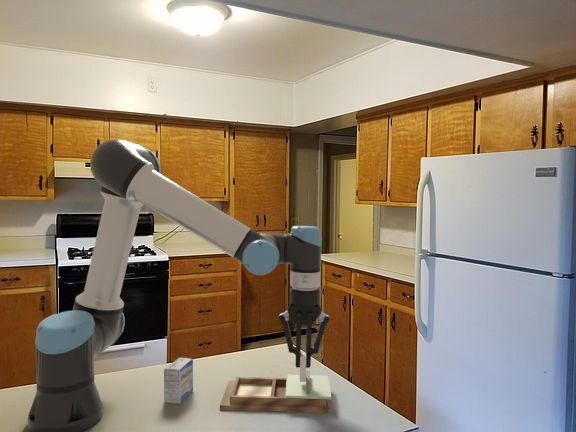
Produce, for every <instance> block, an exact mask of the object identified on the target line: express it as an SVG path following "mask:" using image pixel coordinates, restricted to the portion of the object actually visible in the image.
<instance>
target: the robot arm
mask: <svg viewBox="0 0 576 432" xmlns="http://www.w3.org/2000/svg"><path fill="white" fill-rule="evenodd" d="M160 164H161V163H160V160H159V159H158V157H157V155H155V153H154V152H153V151H151V150H150V149H149V148H147V147H146V146H143V145H141V144H136V143H133V142H130V141H127V140H122V139H110V140H106V141H105V142H104V141H103V142H102V143H100V144H99V145H98V146H97V147H96V148H95V149H94V150H93V152H92V153H91V157H90V164H89V165H90V172H91V175H92V176H93V178H94V180H95V181H96V182H97V183H98V184H99V185H100V186H101V187H100V191H99V192H100V194H101V195H102V197H103V198H104V203H103V207H102V212H101V216H100V220H99V224H98V225H99V226H98V229H97V234H96V238H95V242H94V246H93V250H92V255H91V260H90V264H89V268H88V272H87V277H86V281H85V282H86V283H85V286H84V289H83V290H84V291H83V292H82V293H81V292H80V294H78V295H77V296H76V297H75V299H74V300H75V301H74V303H73V307H72V310H66V311H61V312H59V313H54V314H51V315H50V316H47V317H45V318H43V320H41V321H40V322H39V324H38V325H37V327H36V331H35V333H36V334H35V339H34V346H35V367H36V368H35V369H36V370H35V377H36V392H35V395H34V397H33V401H32V404H31V407H30V409H29V413H28V415H27V430H28V431H29V432H84V431H85V430H88V429H90V428H92V427H93V426H94V425H95V424H97V423H98V422H99V421H100V420H101V419H102V417H103V414H104V412H103V409H104V407H103V405H104V404H103V401H102V399H101V396H100V392H99V391H98V388H97V386H96V382H95V359H96V358H97V357H98V356H99V355H101V354H102V353H103V352H105V350H107V349H109V348H110V347H111V346H113V345H114V344H115V343H116V342H117V341H118V339H119V338H120V336H121V335H122V333H123V332H124V329H125V323H126V322H125V321H126V320H125V318H126V317H125V314H124V313H123V310H124V306H125V302H124V301H123V299H122V298H121V297H120V295H121V294H122V293H121V292H122V288H123V283H124V279H125V275H126V271H127V266H128V262H129V257H130V253H131V251H132V250H131V249H132V246H133V241H134V237H135V232H136V230H137V229H136V228H137V224H138V220H139V217H140V216H139V215H140V212H141V208H142V207H144V206H146V207H147V208H149V209H151V210H153V211H154V212H156V213H158V214H160V215H161V216H163V217H165V218H166V219H168V220H169V221H171V222H173V223H175V224H176V225H178V226H180V227H181V228H183V229H185V230H186V231H188V232H189V233H191V234H193V235H195V236H196V237H198V238H200V239H202V240H203V241H205V242H206V243H208V244H210V245H211V246H213V247H215V248H216V249H218V250H220V251H222V252H224V253H225V254H226V255H229V256H230V257H232V258H233V259H235V260H236V261H237V262H239V263H241V264H242V265H244V266H245V268H246V270H247V271H248V272H249V273H251V274H253V275H256V276H265V275H268V274H269V273H271V272H273V270H274V269H275V268H277V266H278V264H283V265H285V264H287V265H289V266H290V269H289V270H290V274H289V277H290V280H289V285H290V287H291V288H289V305H288V307H287V310H286V311H284V312H280V313H279V315H278V320H279V321H280V323H281V324H282V326H283V332H284V336H285V341H286V345H287V348H288V353H290V354H291V353H292V354H294V355H295V368H299V375H300V382H306V371H307V369H308V368H309V369H310V368H311V366H312V362H311V361H312V355H314V354H315V355H317V354H318V353H319V350H320V347H321V343H322V340H323V335H324V332H325V329H326V328H325V327H326V326H327V324H328V323H329V322H330V319H331V318H330V315H329V314H326V313H325V312H323V311H322V308H321V306H320V304H321V303H320V299H321V296H320V295H321V290H320V289H319V288H320V286H321V262H322V260H321V258H322V257H321V255H322V231H321V229H320V228H319V227H317V226H314V225H293V226H292V227H291V228H290V229H291V230H290V232H289V233H267V232H265V233H264V232H257V231H255V230H253V229H252V228H250V227H249V226H247V225H245V224H244V223H242V222H241V221H239V220H237V219H236V218H234V217H232V216H230V215H228V214H227V213H225V212H224V211H222V210H220V209H218V208H217V207H215V206H213V205H212V204H211V203H209V202H207V201H205V200H204V199H202V198H201V197H199V196H197V195H195V194H194V193H192V192H191V191H189V190H187V189H185V188H184V187H182V186H180V185H179V184H177V183H176V182H174V181H173V180H171V179H169V178H167V177H166V176H164V175H163V174H161V172H162V171H161V165H160ZM290 318H291V319H292V320H293V322H294V323H295V324H296V327H295V328H296V329H295V330H296V331H295V332H296V335H295V339H296V340H295V346H294V341H293V338H292V337H293V336H292V333H291V329H290V324H289V320H290ZM318 318H319V321H320V322H319V325H318V328H317V332H316V336H315V340H314V344H313V346H312V329H313V328H312V327H313V324H314V323H315V322H316V320H317V319H318ZM303 325H305V326H306V330H305V331H306V333H305V334H306V338H305V339H306V340H305V341H306V342H305V345H306V346H305V352H301V351H302V346H301V345H302V326H303Z"/></svg>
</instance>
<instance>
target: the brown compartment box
mask: <svg viewBox="0 0 576 432" xmlns="http://www.w3.org/2000/svg"><path fill="white" fill-rule="evenodd" d="M235 378H236V379H235V380H228V382H227V385H226V387H225V390H224V393H223V396H222V398H221V401H220V404H219V410H224V411H225V410H229V411H256V412H257V411H259V412H260V411H262V412H287V413H288V412H291V413H292V412H293V413H294V412H295V413H323V414H324V413H325V414H328V413H329V404H328V403H329V402H328V399H302V398H285V396H286V382H287V377H285V378H284V377H250V376H249V377H248V376H236V377H235Z"/></svg>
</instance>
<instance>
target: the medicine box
mask: <svg viewBox="0 0 576 432" xmlns="http://www.w3.org/2000/svg"><path fill="white" fill-rule="evenodd" d="M193 390H194V359H193V358H188V357H177V359H175V360H174V361H173V362H171V363H170V364H169V365H168V366H166V367H165V368H164V369H163V402H164V403H168V404H178V405H181V404H182V403H183V402H184V401H185V399H187V398H188V396H189V395H191V393H192V392H193Z"/></svg>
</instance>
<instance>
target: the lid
mask: <svg viewBox="0 0 576 432" xmlns="http://www.w3.org/2000/svg"><path fill="white" fill-rule="evenodd" d="M286 378H287V382H286V396H285V398H302V399H327V400H332V392H331V386H330V385H331V384H330V380H329V379H330V378H329V375H322V374H321V375H318V374H315V375H313V374H311V373H310V370H306V382H300V374H288V373H287V374H286Z"/></svg>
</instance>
